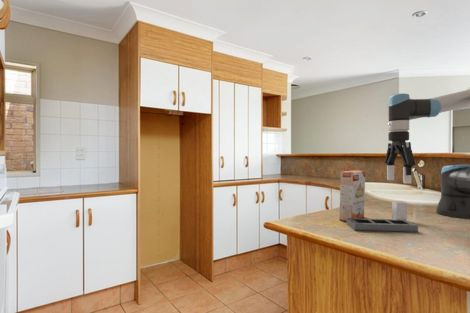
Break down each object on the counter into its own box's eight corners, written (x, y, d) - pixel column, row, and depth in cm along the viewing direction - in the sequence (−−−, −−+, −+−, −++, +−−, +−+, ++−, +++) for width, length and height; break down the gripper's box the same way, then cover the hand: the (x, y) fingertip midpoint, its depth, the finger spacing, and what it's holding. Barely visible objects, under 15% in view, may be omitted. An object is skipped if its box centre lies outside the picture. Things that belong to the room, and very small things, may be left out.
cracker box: (353, 223, 111) (353, 172, 110) (338, 220, 115) (339, 171, 115) (365, 217, 121) (365, 170, 120) (351, 215, 125) (352, 169, 125)
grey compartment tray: (404, 225, 107) (404, 219, 107) (417, 232, 98) (417, 225, 98) (346, 224, 108) (346, 218, 108) (354, 230, 100) (354, 223, 99)
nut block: (401, 219, 116) (401, 201, 116) (406, 222, 112) (406, 203, 112) (391, 219, 117) (392, 201, 116) (396, 222, 113) (396, 202, 112)
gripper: (376, 133, 127) (376, 178, 127) (405, 128, 102) (405, 184, 102) (393, 133, 126) (393, 178, 126) (426, 128, 101) (426, 185, 102)
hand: (398, 181), depth 114 cm, fingers open, 13 cm apart
